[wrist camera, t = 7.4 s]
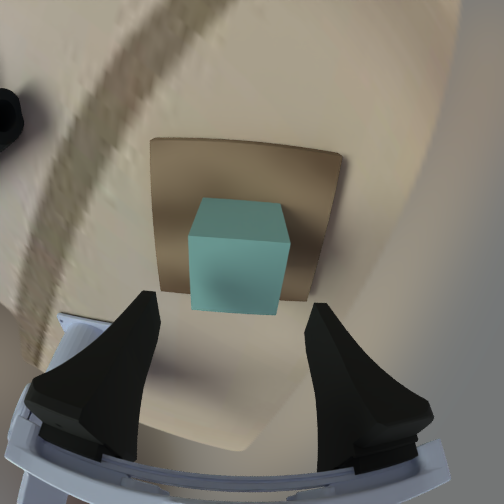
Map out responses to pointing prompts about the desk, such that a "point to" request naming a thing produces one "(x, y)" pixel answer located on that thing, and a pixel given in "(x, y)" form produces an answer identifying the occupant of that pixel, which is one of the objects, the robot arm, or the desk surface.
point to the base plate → (240, 188)
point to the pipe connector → (9, 118)
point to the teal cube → (237, 256)
